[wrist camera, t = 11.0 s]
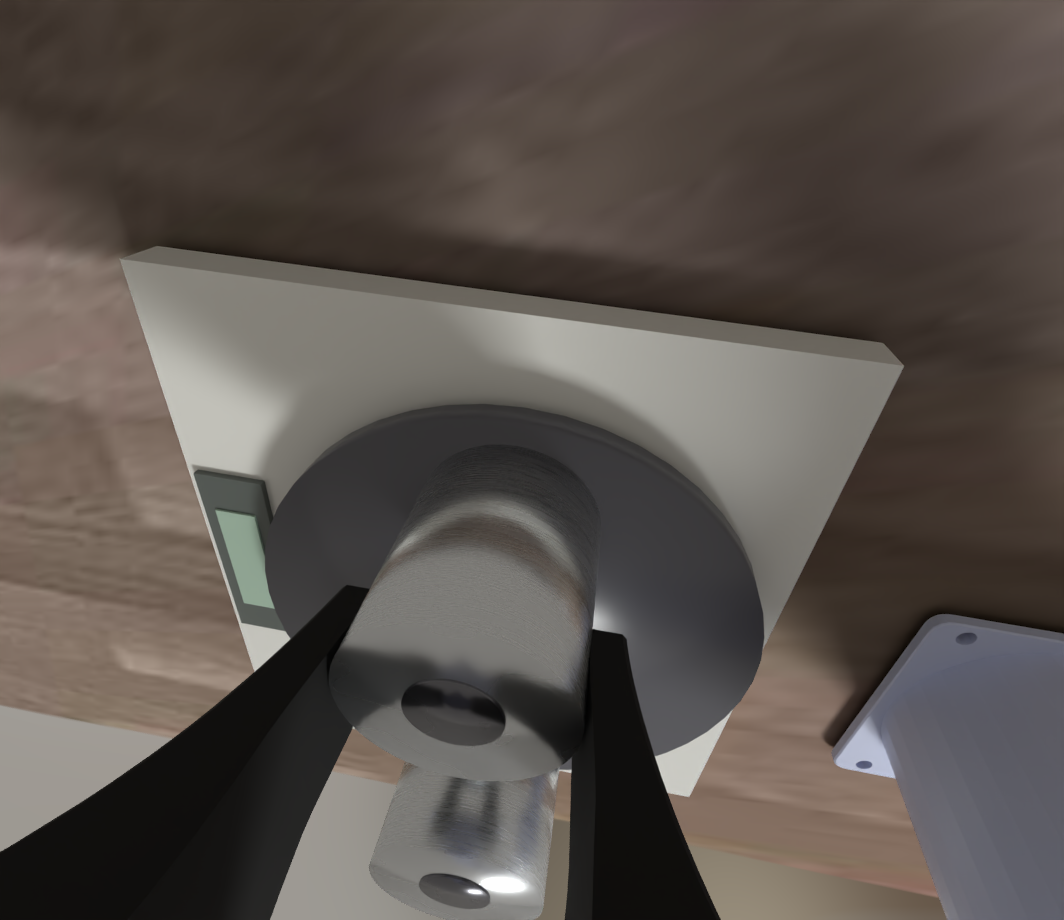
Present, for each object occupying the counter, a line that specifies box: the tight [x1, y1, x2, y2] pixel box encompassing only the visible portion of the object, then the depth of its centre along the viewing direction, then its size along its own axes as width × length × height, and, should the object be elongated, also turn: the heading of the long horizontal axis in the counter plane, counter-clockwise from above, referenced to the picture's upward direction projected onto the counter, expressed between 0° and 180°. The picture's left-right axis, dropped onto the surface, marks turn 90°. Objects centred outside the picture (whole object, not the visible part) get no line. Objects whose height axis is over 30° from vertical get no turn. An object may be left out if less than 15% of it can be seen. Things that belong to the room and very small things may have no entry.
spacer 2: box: [369, 761, 560, 920], centre depth 16 cm, size 4×4×5 cm
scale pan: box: [265, 404, 764, 770], centre depth 16 cm, size 14×14×1 cm
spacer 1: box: [329, 445, 601, 781], centre depth 12 cm, size 4×4×5 cm
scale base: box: [120, 246, 904, 797], centre depth 17 cm, size 17×18×2 cm
